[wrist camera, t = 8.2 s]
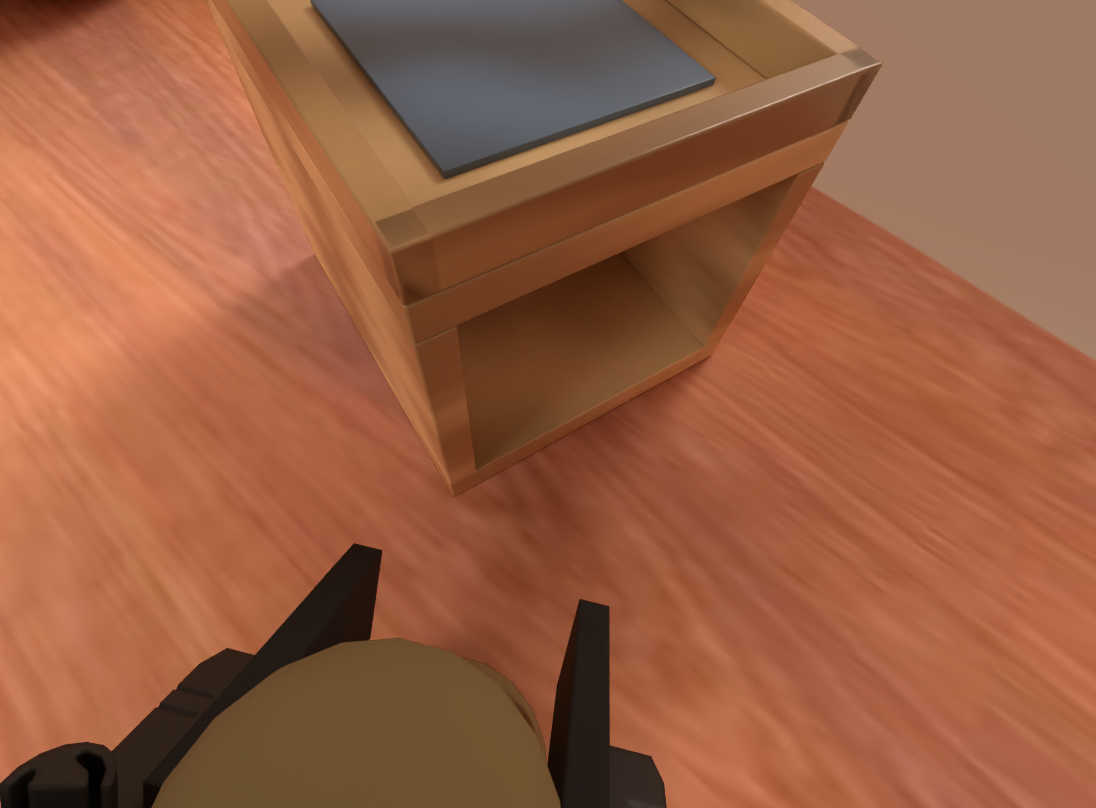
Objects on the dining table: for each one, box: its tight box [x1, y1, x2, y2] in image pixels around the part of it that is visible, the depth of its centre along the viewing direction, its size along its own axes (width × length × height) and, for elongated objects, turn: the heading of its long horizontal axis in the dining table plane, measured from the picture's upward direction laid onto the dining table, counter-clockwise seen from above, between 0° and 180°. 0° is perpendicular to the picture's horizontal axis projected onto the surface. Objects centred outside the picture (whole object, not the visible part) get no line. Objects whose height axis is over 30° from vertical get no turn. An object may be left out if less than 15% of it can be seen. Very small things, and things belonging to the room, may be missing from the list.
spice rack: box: [206, 0, 882, 497], centre depth 18 cm, size 13×12×12 cm
